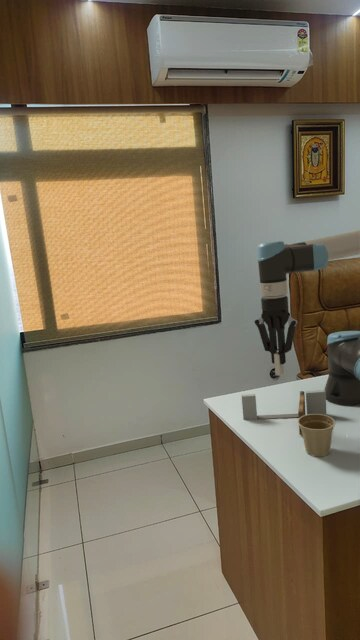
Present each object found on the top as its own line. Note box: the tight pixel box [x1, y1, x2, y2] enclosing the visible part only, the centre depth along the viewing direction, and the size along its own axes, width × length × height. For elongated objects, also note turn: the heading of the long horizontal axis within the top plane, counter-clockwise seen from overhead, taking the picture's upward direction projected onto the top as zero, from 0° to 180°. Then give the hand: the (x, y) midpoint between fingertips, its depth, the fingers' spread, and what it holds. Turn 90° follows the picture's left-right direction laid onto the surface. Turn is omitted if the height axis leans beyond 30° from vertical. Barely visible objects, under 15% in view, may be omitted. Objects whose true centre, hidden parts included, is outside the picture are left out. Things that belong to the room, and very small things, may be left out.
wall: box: [241, 389, 328, 421], centre depth 132 cm, size 26×2×8 cm, turn 83°
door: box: [297, 390, 307, 436], centre depth 125 cm, size 14×2×8 cm, turn 162°
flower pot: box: [297, 414, 336, 457], centre depth 110 cm, size 9×9×9 cm
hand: (279, 373), depth 123 cm, fingers closed
